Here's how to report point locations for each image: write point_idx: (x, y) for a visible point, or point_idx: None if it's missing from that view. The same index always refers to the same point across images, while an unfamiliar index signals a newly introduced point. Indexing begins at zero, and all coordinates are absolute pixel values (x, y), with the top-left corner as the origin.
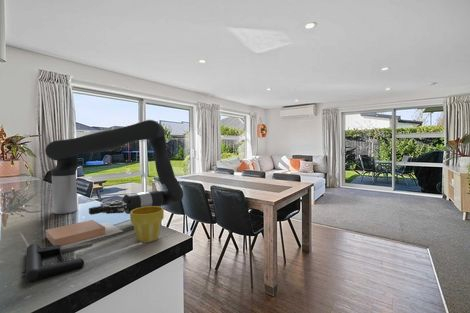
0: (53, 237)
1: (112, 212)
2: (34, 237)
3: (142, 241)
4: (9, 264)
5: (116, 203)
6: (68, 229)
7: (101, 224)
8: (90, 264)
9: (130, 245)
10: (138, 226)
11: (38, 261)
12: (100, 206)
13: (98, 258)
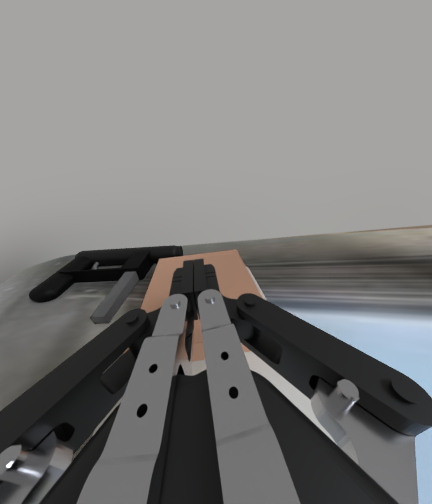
0: (173, 257)
1: (105, 375)
2: (260, 256)
3: None
4: None
5: (115, 424)
6: None
7: (293, 390)
8: (23, 311)
9: None
10: None
11: (100, 254)
12: (190, 289)
13: (20, 326)
